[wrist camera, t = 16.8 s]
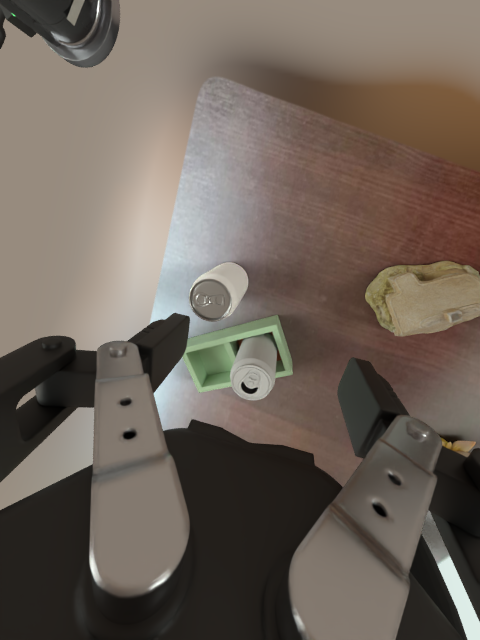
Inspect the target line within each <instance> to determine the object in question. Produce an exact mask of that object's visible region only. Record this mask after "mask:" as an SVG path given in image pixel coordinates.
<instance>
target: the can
mask: <svg viewBox="0 0 480 640" xmlns="http://www.w3.org/2000/svg"><path fill="white" fill-rule="evenodd" d="M247 288H248V276H247V274H246V272H245V270H244V269H243V268H242V267H241V266H239V265H238V264H235V263H231V262H227V263H223V264H220V265H219V266H217V267H215V268H213V269H212V270H210V271H208V272H206V273H205V274H203V275H202V276H200V277H199V278H198V279H197V280H196V281H195V282H194V283H193V285H192V288H191V290H190V293H189V303H190V306H191V308H192V310H193V312H194V313H195V314H196V315H197V316H198V317H200V318H201V319H203V320H206V321H211V322H214V321H219V320H221V319H224V318H226V317H228V316H229V315H231V314H232V313H233V311H234V310H235V308H236V307H237V305H238V304H239V302H240V301H241V299H242V297H243V296H244V294H245V292H246V290H247Z"/></svg>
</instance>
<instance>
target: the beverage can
mask: <svg viewBox="0 0 480 640" xmlns="http://www.w3.org/2000/svg"><path fill="white" fill-rule="evenodd" d="M276 361H277V344H276V341H275V338H274V337H273V336H272V335H271V334H269V333H264V334H260V335H256V336H252V337H248V338H244V339H243V341H242V343H241V346H240V348H239V351H238V353H237V356H236V359H235V361H234V364H233V366H232V369H231V372H230V379H231V386H232V388H233V390H234V391H235V392H236V393H237V394H238V395H239V396H240V397H242V398H244V399H247V400H260V399H262V398H264V397H266V396H267V395H268V394H269V392H270V391H271V389H272V388H273V386H274V383H275V373H276Z"/></svg>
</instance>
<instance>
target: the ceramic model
mask: <svg viewBox="0 0 480 640" xmlns="http://www.w3.org/2000/svg"><path fill="white" fill-rule="evenodd" d="M365 299H366V301H367V302H368V303H369V304H370V305H371V307H372V308H373V309H374V311H375V313H376V316H377V319H378V321H379V323H380V325H381V326H382V327H384V328H386V329H389V330H390V331H391V332H394V334H395V336H407V335H413V334H419V333H426V334H427V333H433V332H438V331H442V330H445V329H448V328H449V327H451V326H454V325H456V324H458V323H461V322H465V321H468V320H471V319H473V318H475V317H478V316H480V276H479V272H478V271H476V270H475V269H473V268H472V267H470V266H468V265H465V266H463V265H460V264H457V263H454V262H451V261H441V262H437V263H433V264H430V265H414V266H413V265H412V266H410V265H397V266H394V267H389V268H386V269H385V270H383V271H382V272H380V273H379V274H378V276H377V277H376V278H375V279H374V280H373V281H372V282H371V283H370V285H369V286H368V288H367V290H366V294H365Z"/></svg>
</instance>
